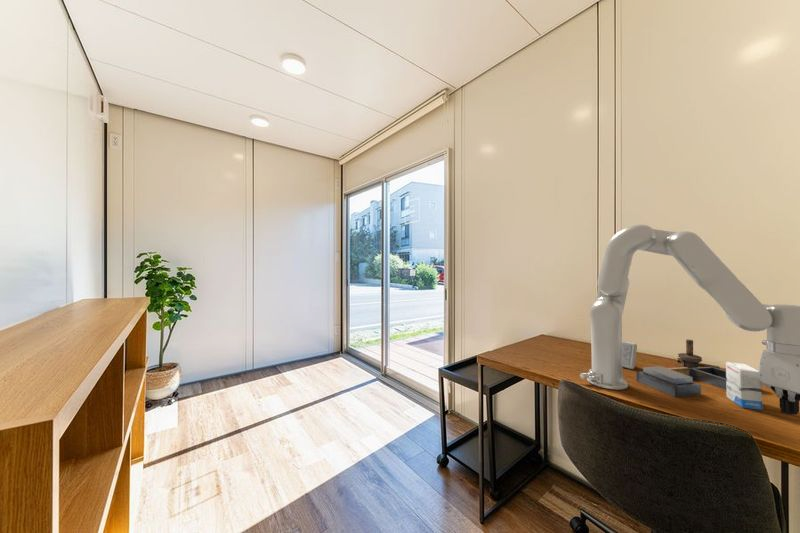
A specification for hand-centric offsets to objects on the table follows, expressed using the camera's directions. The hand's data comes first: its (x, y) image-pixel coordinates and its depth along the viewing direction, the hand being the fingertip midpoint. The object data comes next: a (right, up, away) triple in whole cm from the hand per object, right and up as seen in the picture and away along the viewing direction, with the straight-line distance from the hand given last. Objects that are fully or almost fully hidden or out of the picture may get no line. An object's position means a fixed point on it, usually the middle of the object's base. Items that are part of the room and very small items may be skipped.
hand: (789, 413), depth 84 cm
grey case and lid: (-3, -2, +24) cm, 24 cm away
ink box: (-1, -2, +10) cm, 10 cm away
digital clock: (-15, -2, +48) cm, 50 cm away
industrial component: (+12, -2, +41) cm, 42 cm away
